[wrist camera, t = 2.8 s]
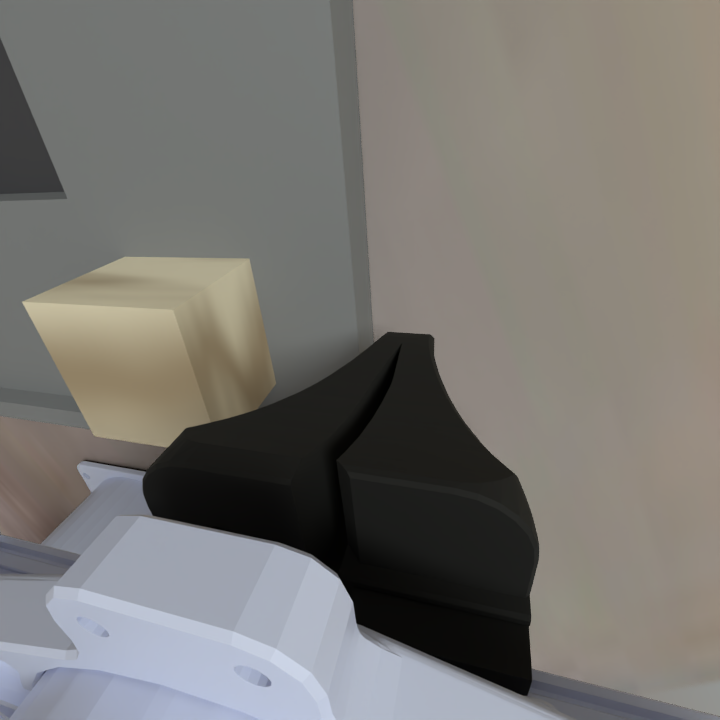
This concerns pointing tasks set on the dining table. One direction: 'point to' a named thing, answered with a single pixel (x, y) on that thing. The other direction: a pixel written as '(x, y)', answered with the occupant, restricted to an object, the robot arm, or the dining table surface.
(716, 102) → the dining table surface
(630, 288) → the dining table surface
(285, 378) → the board
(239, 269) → the birch block
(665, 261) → the dining table surface
